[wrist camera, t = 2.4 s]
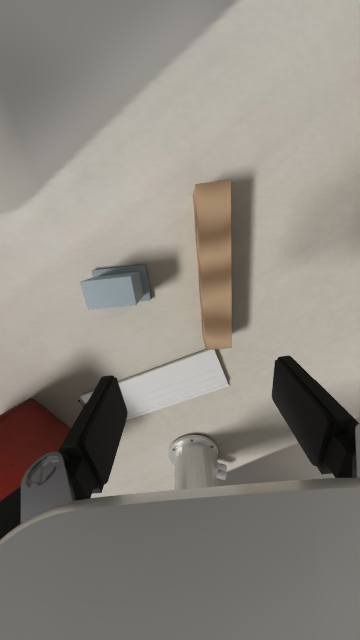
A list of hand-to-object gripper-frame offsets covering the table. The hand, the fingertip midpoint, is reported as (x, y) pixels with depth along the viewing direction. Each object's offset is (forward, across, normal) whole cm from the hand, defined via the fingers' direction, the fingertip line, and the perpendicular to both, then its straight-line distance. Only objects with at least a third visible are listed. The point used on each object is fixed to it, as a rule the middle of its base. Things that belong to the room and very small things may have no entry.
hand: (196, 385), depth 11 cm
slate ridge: (+23, +10, -2) cm, 26 cm away
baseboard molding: (+23, +9, +22) cm, 33 cm away
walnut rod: (+24, -5, -2) cm, 24 cm away
